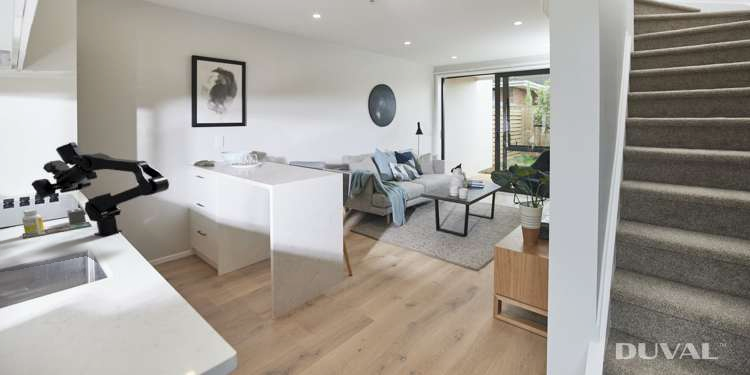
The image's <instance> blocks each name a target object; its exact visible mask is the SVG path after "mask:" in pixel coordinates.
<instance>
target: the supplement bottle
mask: <svg viewBox="0 0 750 375" xmlns="http://www.w3.org/2000/svg"><path fill="white" fill-rule="evenodd" d="M22 213H23V215H24V216H23V217H22V224H23V229H24V233H25V234H26V235H25V237H29V236H34V235H39V234H45V231H44V230H45V227H44V223H43V217H42V215H41V214H39V210H38V209H37V208H30V209H25V210H23V212H22Z"/></svg>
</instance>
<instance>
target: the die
mask: <svg viewBox="0 0 750 375" xmlns="http://www.w3.org/2000/svg"><path fill="white" fill-rule="evenodd" d="M66 212H67V218H68V222H69V225H73V224H79V223H84V222H87V220H86V215H85V209H84V208H79V207H78V208H76V209H70V210H66Z"/></svg>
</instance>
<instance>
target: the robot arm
mask: <svg viewBox="0 0 750 375" xmlns="http://www.w3.org/2000/svg"><path fill="white" fill-rule="evenodd" d="M55 151H56V152H57V154H58V155H59V157H60V158H61V159H60V160H59V159H58V160H51V161H49V162H48V161H47V162H46V163H45V164H44V165H43V170H44V171H45V172H47V173H48V174H49V173H51V174H52V175H53V176H52V178H53V179H54V180H56V181H55V183H52V182H50V180H49V179H48V178H41V179H36V180H34V181H32V183H31V186H32V188H33V189H34V191H35V192H36V193H35V195H34V197H35V198H36V199H44V198H50V197H52V196H54V195H55V194H56V191H58V190H59V192H60V193H61V194H64V193H65V194H66V193H68V192H74V191H80V190H83V189H87V188H88V189H89V187H91V185H92V182H91V180H95V179H97V178H98V175H97V172H96V171H99V170H102V171H103V170H109V171H110V170H113V171H119V172H127V173H133V174H134V175H135V179H136V182H137V185H136V186H135V187H131V188H129V189H126V190H124V191H122V192H119V193H116V194H114V195H112V194H111V192H108V193H104V194H99V195H97V196H94V197H92V198H89V199H88V198H87V202H85V203H84V205H85V206H84V212H85V213H86V214H87V217H88V218H89V220H90V221H92V222H96V227H97V232H94V234H93V235H95V236H99V237H108V236H111V235H114V234H117V233H121V232H123V229H118V224H117V220H116V216H119V215H121V211H122V210H121V208H120V207H119V205H121V204H124V203H127V202H129V201H131V200H134V199H137V198H139V197H143V196H144V197H145V196H150V195H151V196H152V195H155V194H158V193H159V194H160V193H162V192H165V191H167V190H169V187H170V182H169V180H168V178H167V177H166V176H164V175H163V174H162V172H160V171H159V170H157V169H156V168H155V167H153V166H152V165H150V163H149V162H148V161H145V160H135V159H134V160H133V159H126V158H125V159H124V158H115V157H111V156H110V155H108V154H105V153H101V152H98V153H86V154H84V153H82V151H81V150H80V148H79V147H78V145H77V143H76V142H75V141H73V142H71V141H70V142H68V143H66V144H63V145H61V146H58V147H57V148H56V149H55ZM69 165H70V166H71V167H70V166H69ZM145 175H147V176H149V177H150V178H147V177H146V176H145ZM90 221H89V222H90Z"/></svg>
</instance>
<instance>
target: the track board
mask: <svg viewBox="0 0 750 375" xmlns="http://www.w3.org/2000/svg"><path fill="white" fill-rule="evenodd" d="M92 225H93V224H91V223H90V221H86V222H82V223H77V224H67V225H63V226H56V227H53V228H52V227H51V228H46V229H45V228H44V234H39V235H34V236H29V237H27V236H26V234H25V232H23V233H22V238H23V240H25V239H30V238H36V237H41V236H47V235H52V234H53V235H54V234H58V233H65V232H68V231H74V229H75V230H79V229H83V228H90V227H92Z"/></svg>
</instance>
